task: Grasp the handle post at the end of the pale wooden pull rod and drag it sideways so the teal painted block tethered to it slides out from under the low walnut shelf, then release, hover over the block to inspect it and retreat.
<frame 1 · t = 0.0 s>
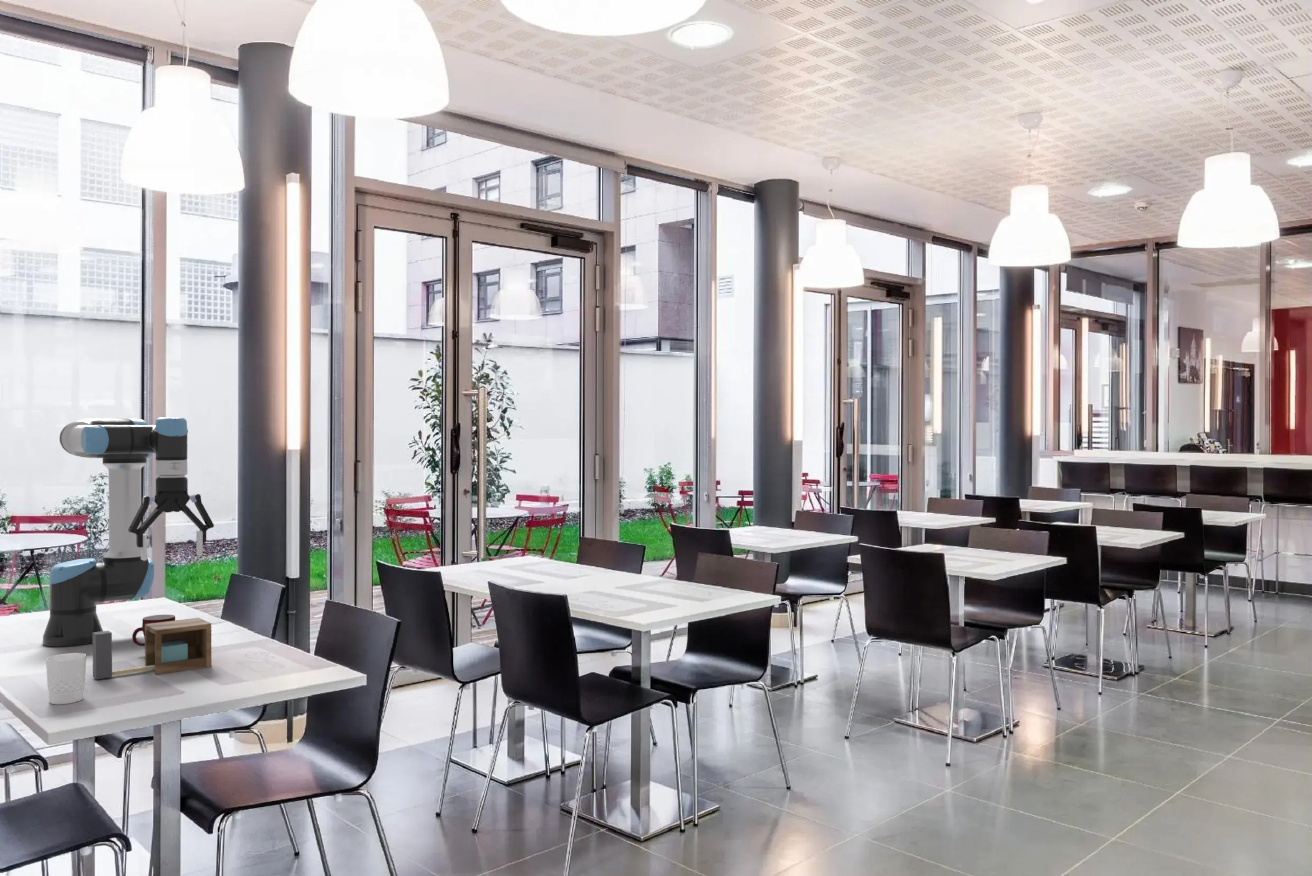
hand: (172, 557, 260), 28 cm above the table, fingers open, 13 cm apart
mug: (154, 654, 273), on the table
shelf: (175, 667, 258), on the table
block: (140, 649, 252), point 6 cm above the table, slide at 0.0 cm
white cup: (66, 701, 226), on the table
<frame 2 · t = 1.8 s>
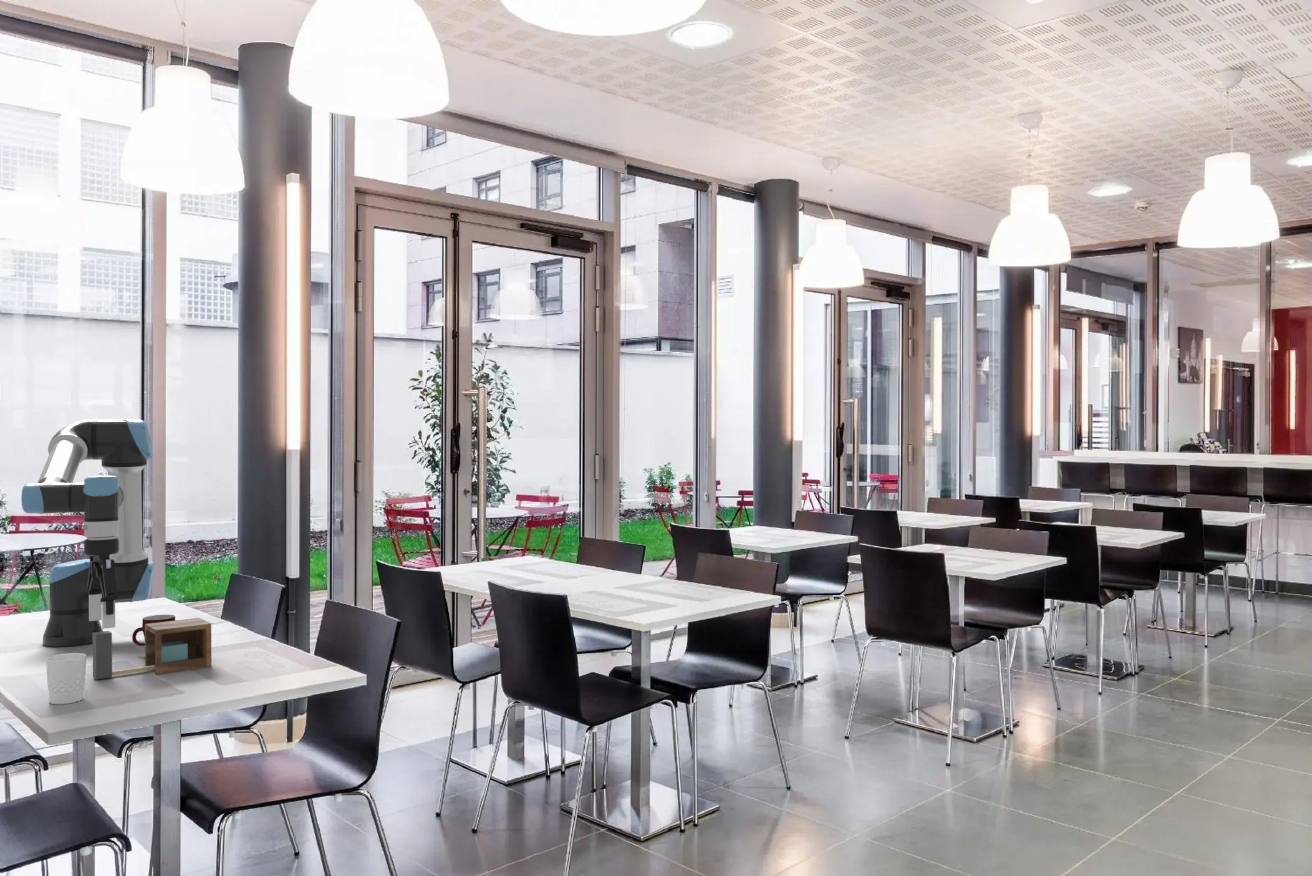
hand: (101, 624, 246), 13 cm above the table, fingers open, 13 cm apart
nothing on the table moved.
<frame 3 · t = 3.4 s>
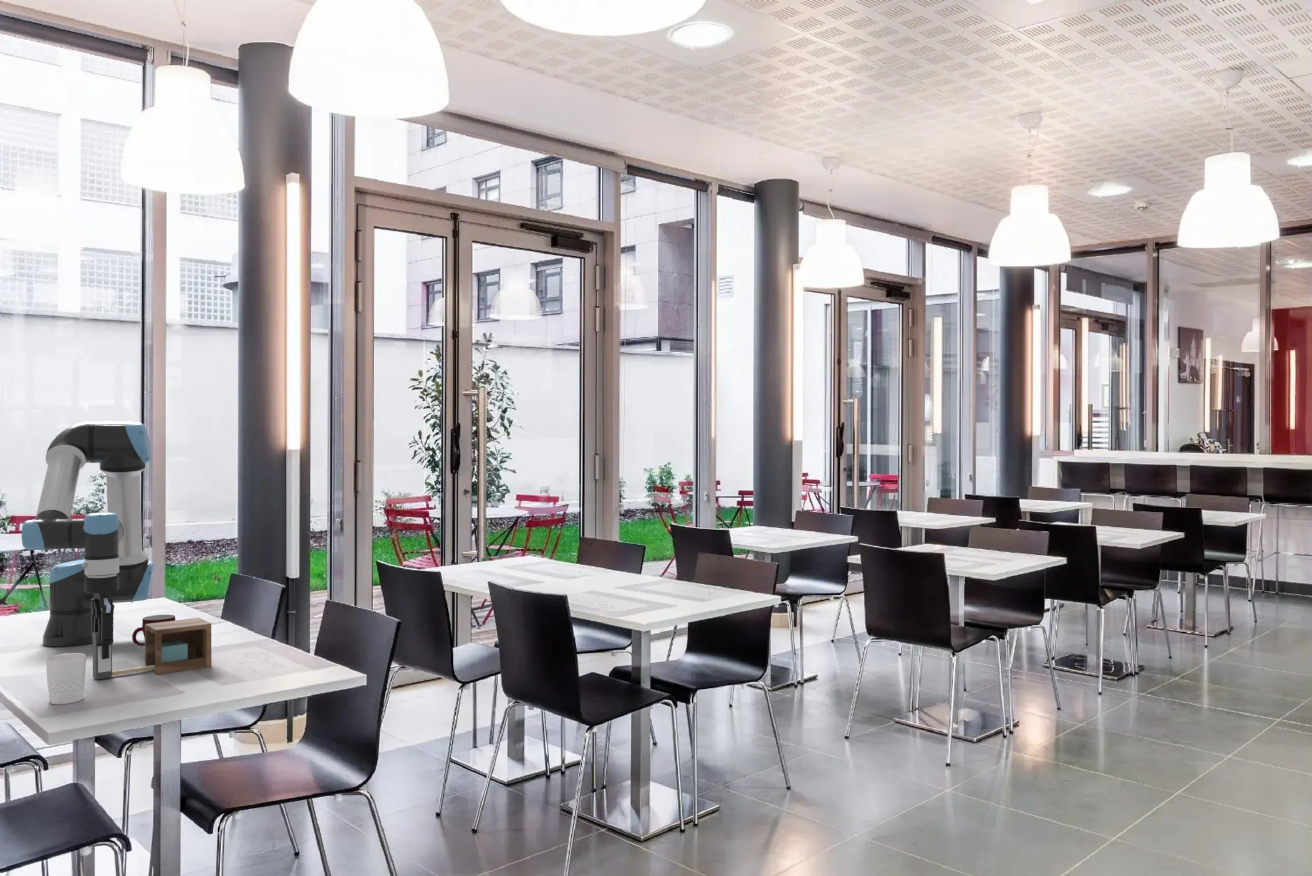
hand: (102, 669, 246), 2 cm above the table, fingers closed on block, 3 cm apart
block: (140, 649, 252), point 6 cm above the table, slide at 0.0 cm, touching gripper
everything else where it was.
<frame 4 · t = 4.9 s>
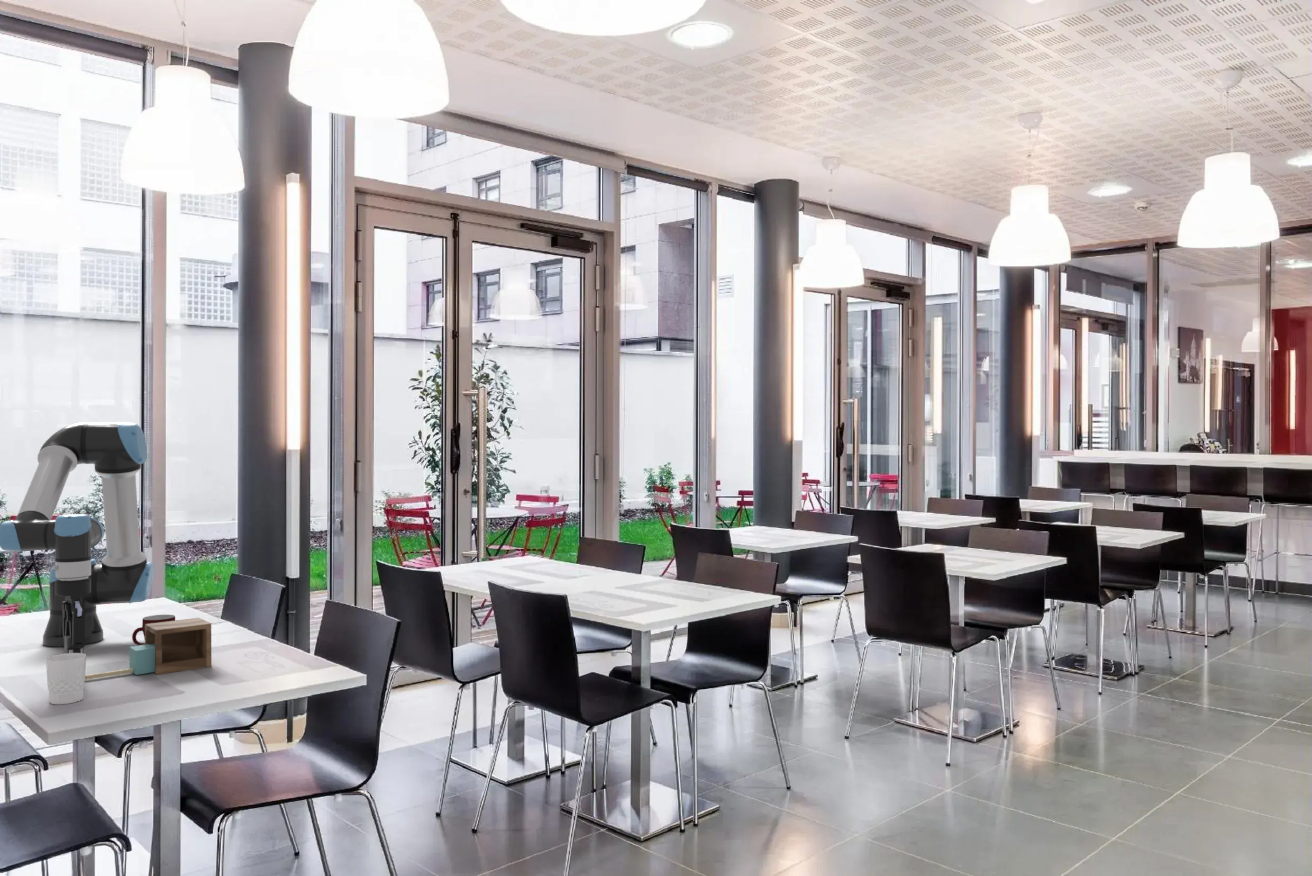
hand: (73, 673, 242), 2 cm above the table, fingers closed on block, 3 cm apart
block: (113, 653, 248), point 6 cm above the table, slide at 6.2 cm, touching gripper
everything else where it was.
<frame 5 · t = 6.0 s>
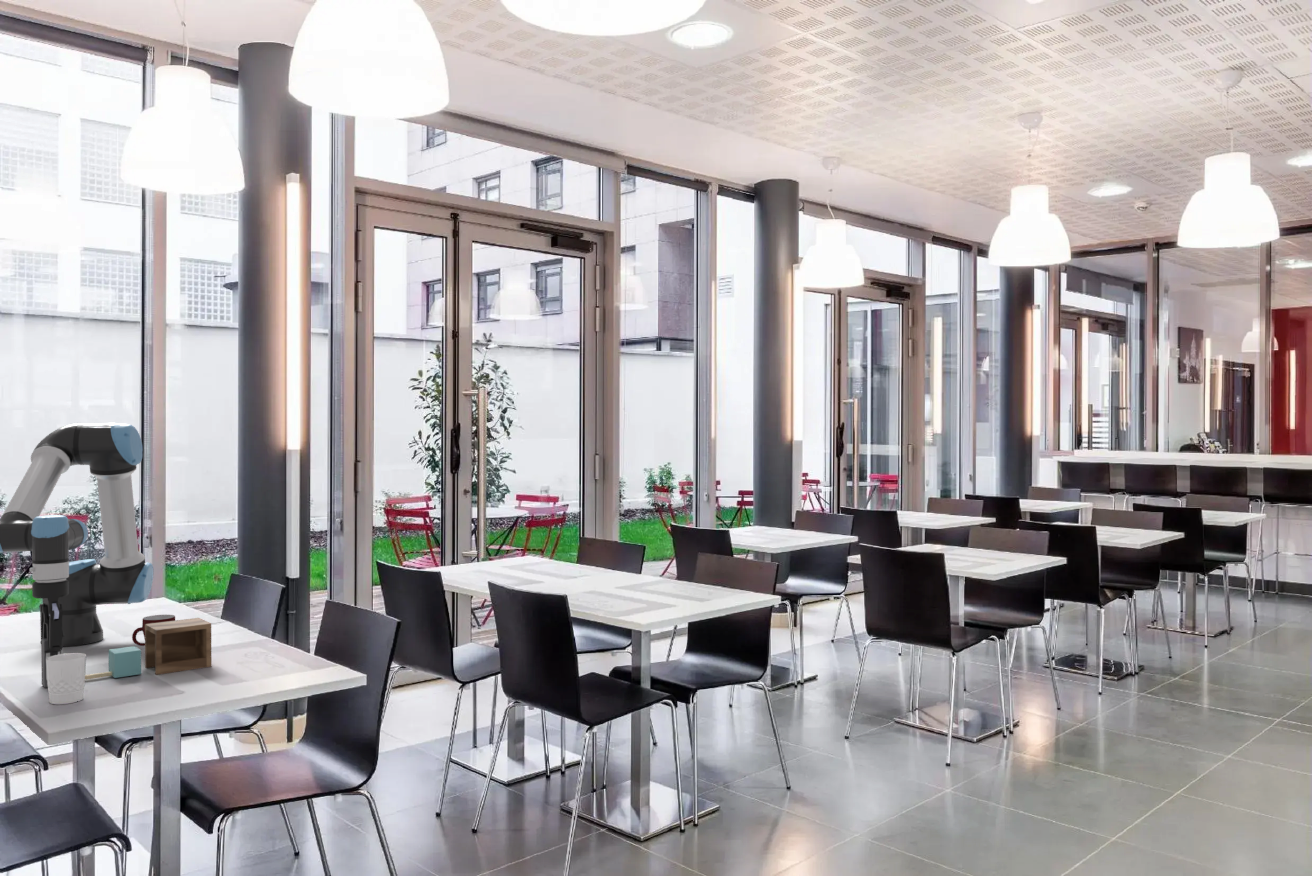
hand: (51, 677, 239), 2 cm above the table, fingers closed on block, 3 cm apart
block: (91, 656, 245), point 6 cm above the table, slide at 11.0 cm, touching gripper
everything else where it was.
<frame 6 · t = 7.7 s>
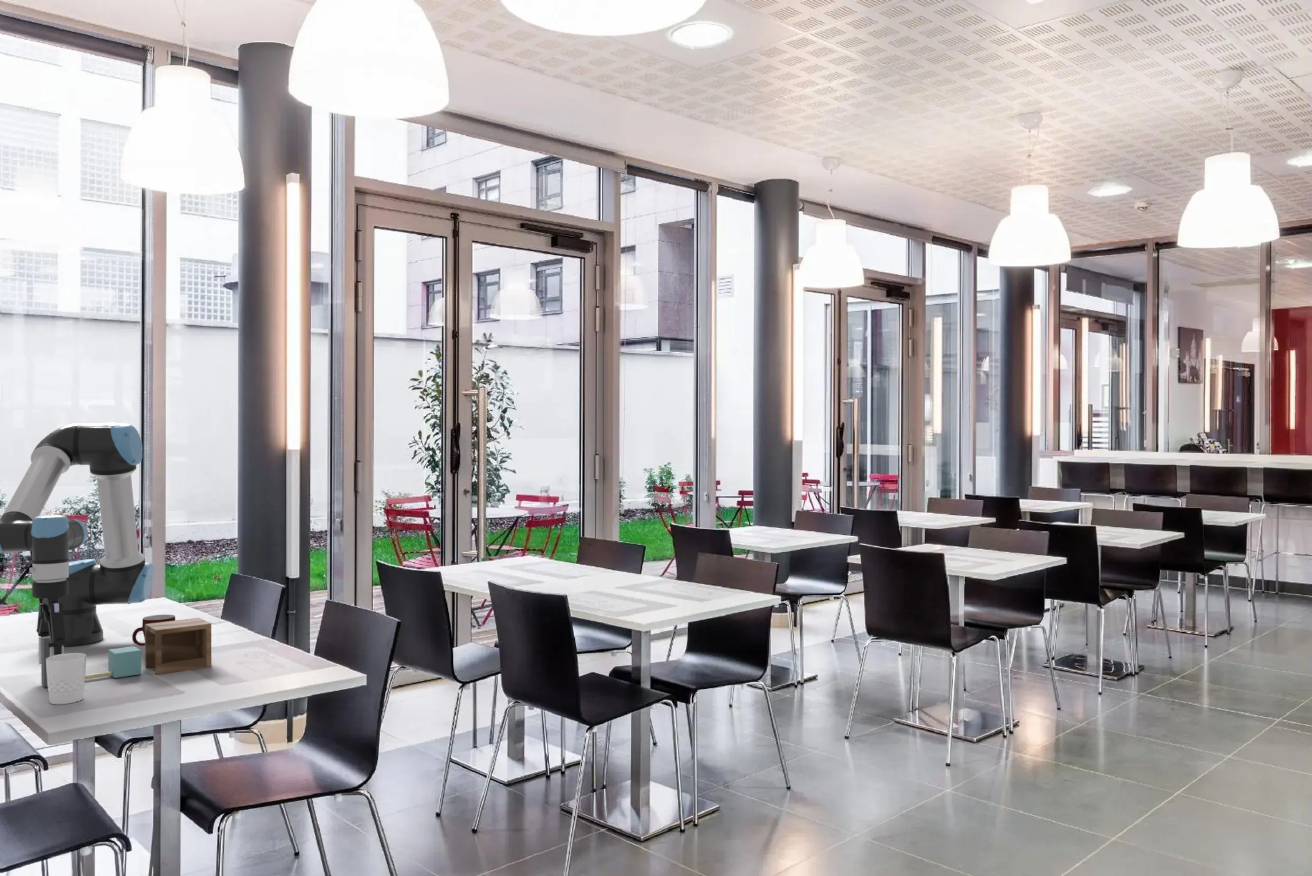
hand: (51, 668, 239), 4 cm above the table, fingers open, 13 cm apart
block: (91, 656, 245), point 6 cm above the table, slide at 11.0 cm
everything else where it was.
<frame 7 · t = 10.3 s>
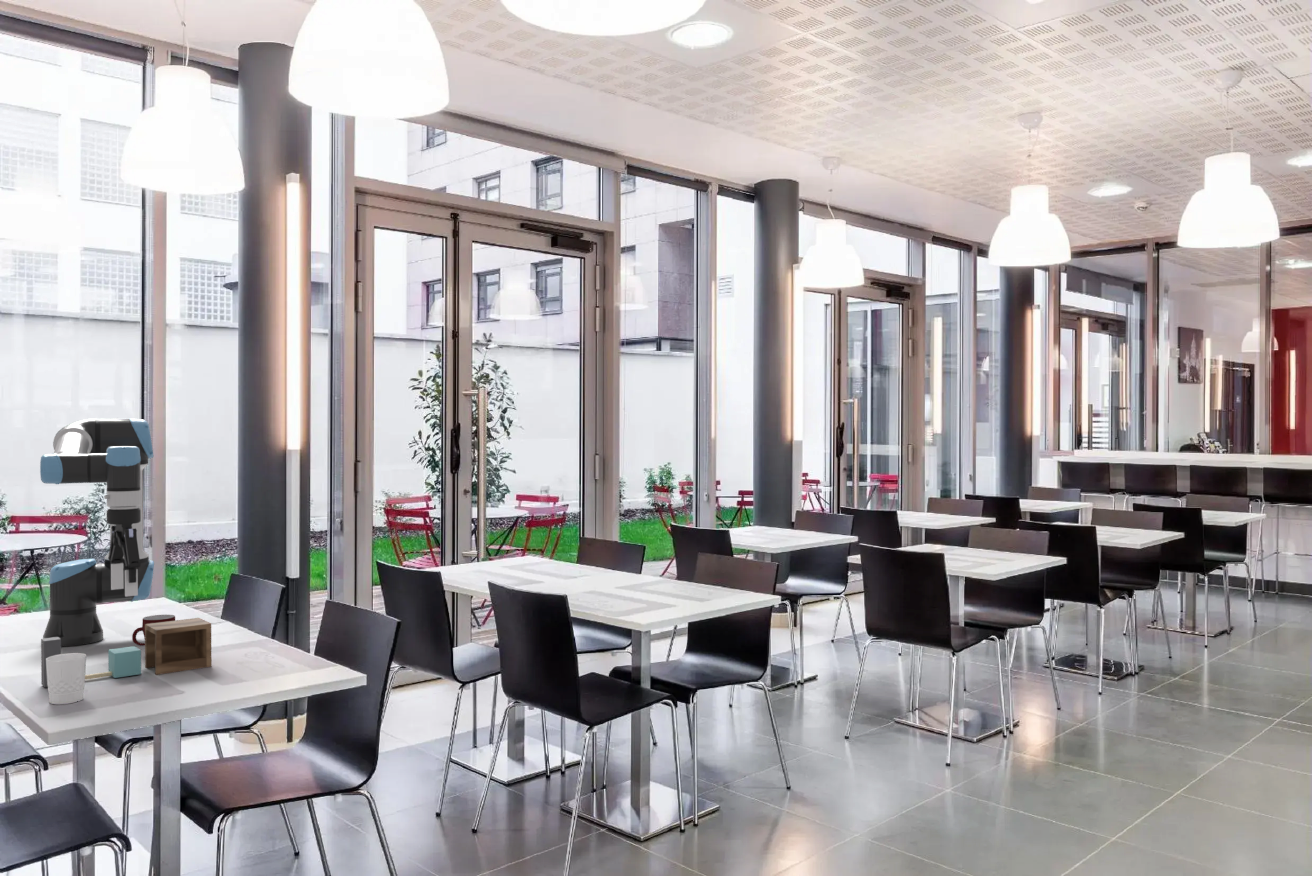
hand: (124, 592, 249), 21 cm above the table, fingers open, 13 cm apart
nothing on the table moved.
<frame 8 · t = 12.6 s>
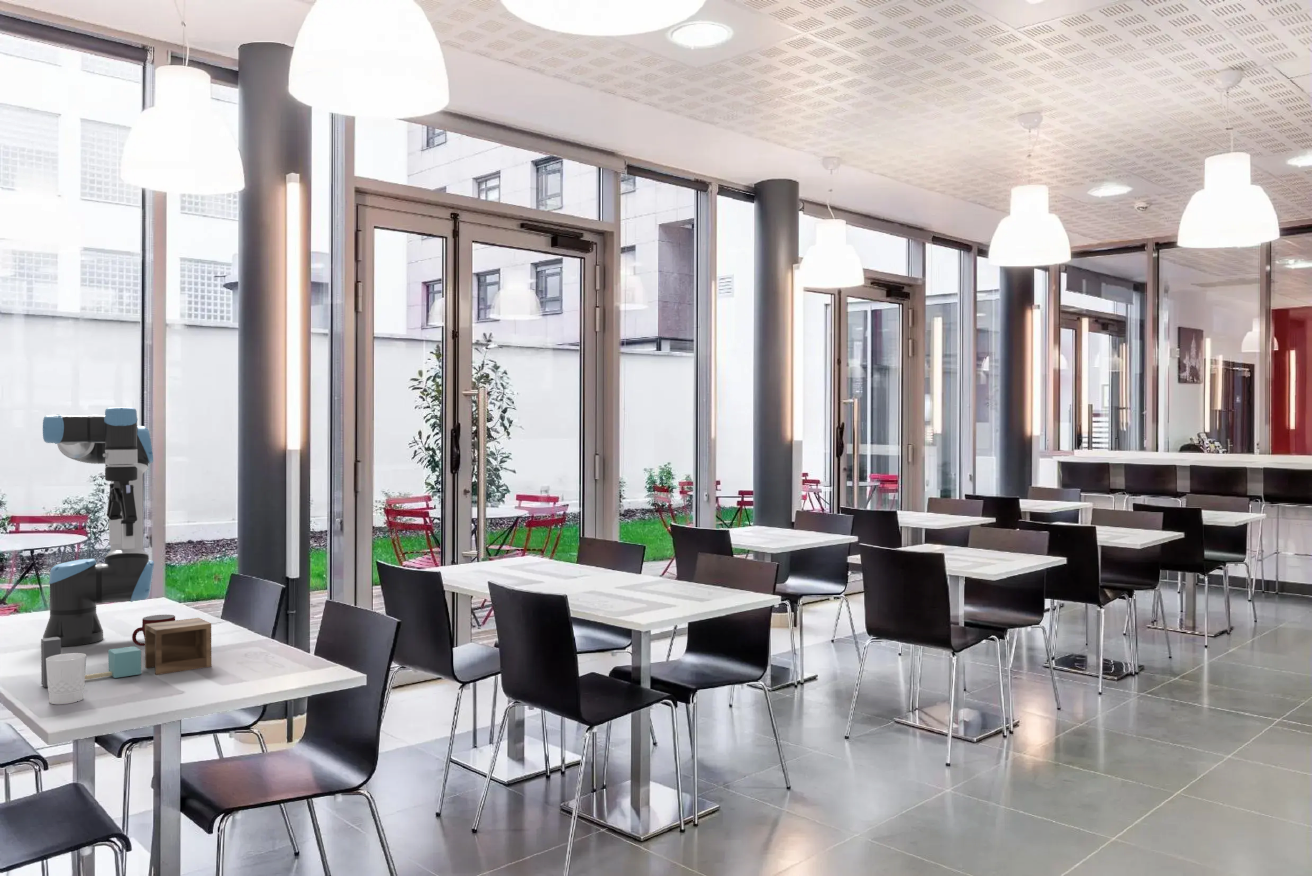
hand: (121, 546, 263), 31 cm above the table, fingers open, 13 cm apart
nothing on the table moved.
at the end: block slide at 11.0 cm; the gripper is holding nothing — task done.
